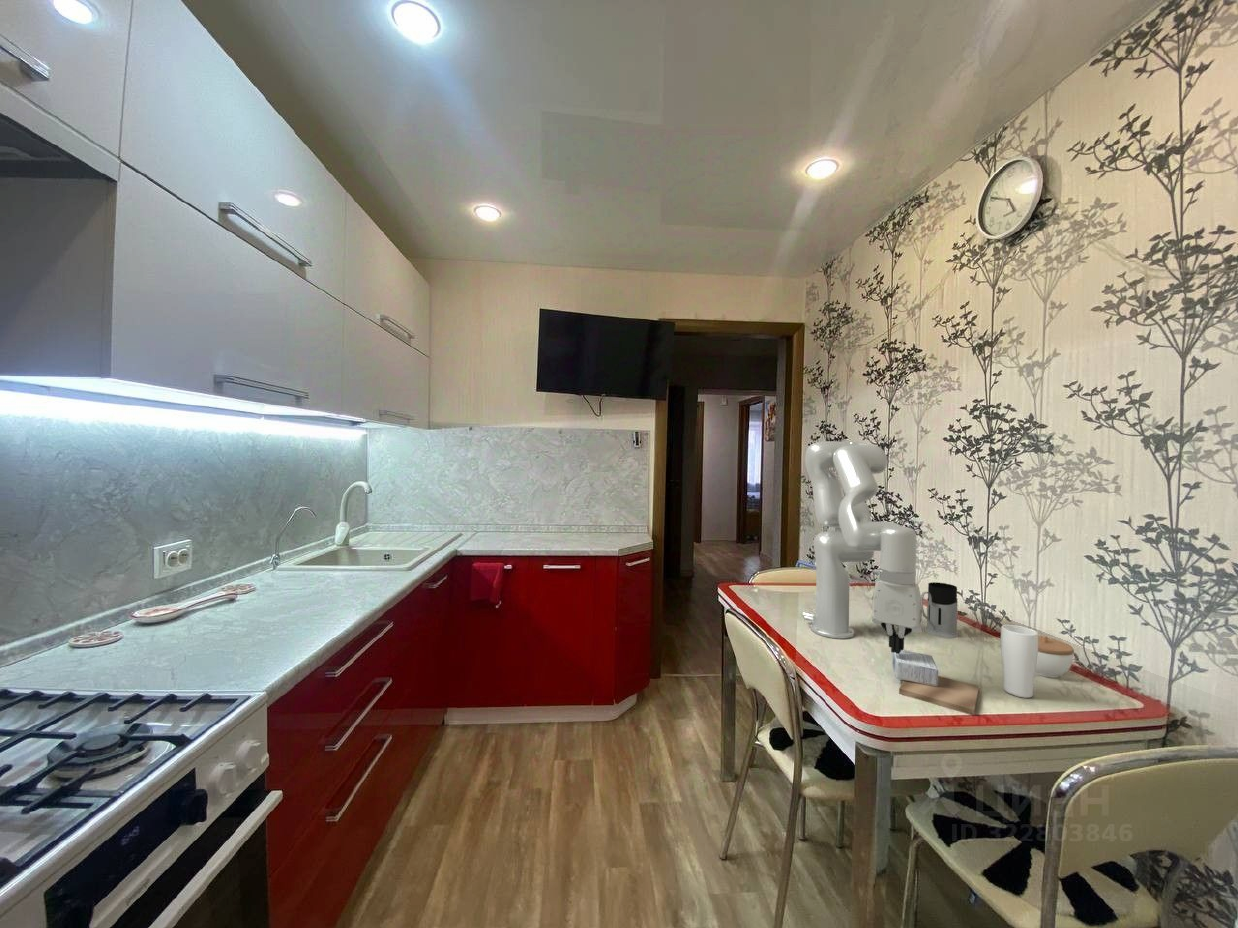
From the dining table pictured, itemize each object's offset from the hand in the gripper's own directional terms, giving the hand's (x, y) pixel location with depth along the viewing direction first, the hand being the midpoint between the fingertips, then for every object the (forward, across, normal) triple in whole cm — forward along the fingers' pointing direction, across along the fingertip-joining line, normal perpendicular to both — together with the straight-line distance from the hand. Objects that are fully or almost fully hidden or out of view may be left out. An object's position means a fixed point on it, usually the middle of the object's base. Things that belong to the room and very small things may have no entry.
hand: (896, 651), depth 117 cm
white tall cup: (+8, +23, +12) cm, 27 cm away
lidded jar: (+8, +28, +31) cm, 43 cm away
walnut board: (+7, +9, 0) cm, 12 cm away
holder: (+7, +3, +44) cm, 45 cm away
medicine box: (+3, -1, +1) cm, 4 cm away
